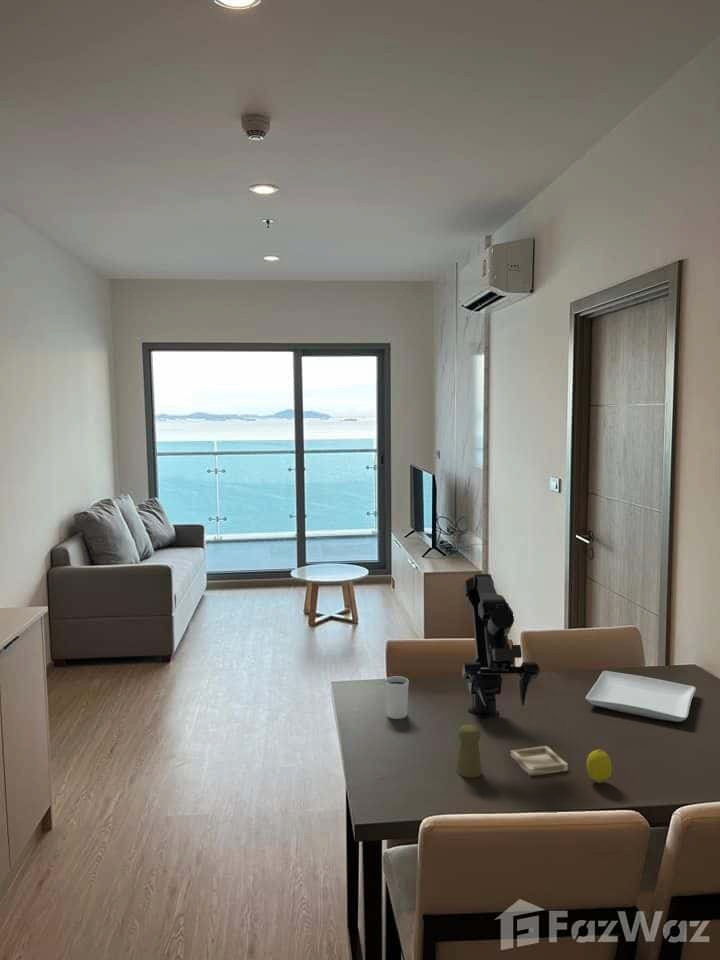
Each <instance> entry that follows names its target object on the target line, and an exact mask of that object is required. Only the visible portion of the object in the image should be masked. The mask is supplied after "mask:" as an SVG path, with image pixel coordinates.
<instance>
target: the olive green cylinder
mask: <svg viewBox="0 0 720 960" xmlns="http://www.w3.org/2000/svg"><path fill="white" fill-rule="evenodd" d="M481 736H482V735H481V730H480V728H479V727H477V726H476V725H473V724H464V725H462V726H461V727H460V728H459V730H458V739H459V741H460V745H459V751H458V755H457V756H458V759H457V764H456V774H458V775H459V776H461V777H464V778H468V779H469V778H471V779H475V778H478V777H480V776H481V775H482V773H483V771H482V764H481V754H480V746H479V745H480V744H479V742H480V740H481Z"/></svg>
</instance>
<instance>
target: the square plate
mask: <svg viewBox="0 0 720 960" xmlns="http://www.w3.org/2000/svg"><path fill="white" fill-rule="evenodd" d="M696 690H697V687H695V685H694V686H693V685H689V684H688V685H687V684H682V683H678V682H673V681H668V680H663V679H658V678H654V677H653V678H652V677H647V676H642V675H636V674H629V673H624V672H623V673H622V672H615V671H611V670H609V671H608V670H603V671H602V672H601V674H600V675H599V676H598V679H597V680H596V682H595V683H594V685H593V686H592V688H591V689H590V690H589V692H588V693H587V695H586V696H585V700H587V701H588V702H589V703H590V704H592V705H593V706H596V707H600V708H604V709H605V708H606V709H608V710H612V711H616V712H621V713H624V714H625V713H626V714H631V715H636V716H640V717H641V716H642V717H645V718H651V719H655V720H662V721H671V722H678V723H679V722H680V723H681V722H683V721H685V720H686V719H687V718H688V716H689V713H690V708H691V703H692V700H693V697H694V695H695V693H696Z"/></svg>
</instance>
